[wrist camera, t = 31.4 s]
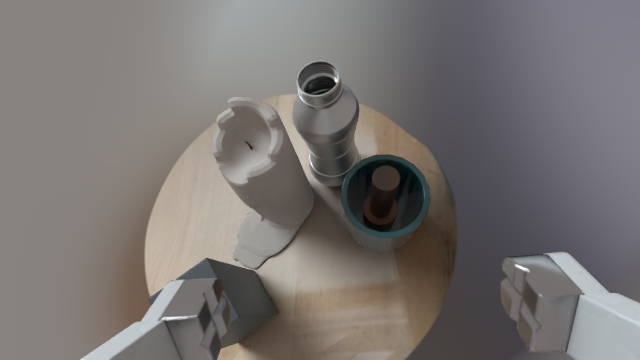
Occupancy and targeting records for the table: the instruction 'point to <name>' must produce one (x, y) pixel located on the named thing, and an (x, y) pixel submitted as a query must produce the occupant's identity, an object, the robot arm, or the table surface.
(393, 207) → the rod with orange collar
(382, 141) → the table surface
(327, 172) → the silver metal bottle
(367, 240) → the teal cup
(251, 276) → the stand
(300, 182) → the candle
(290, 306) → the table surface
